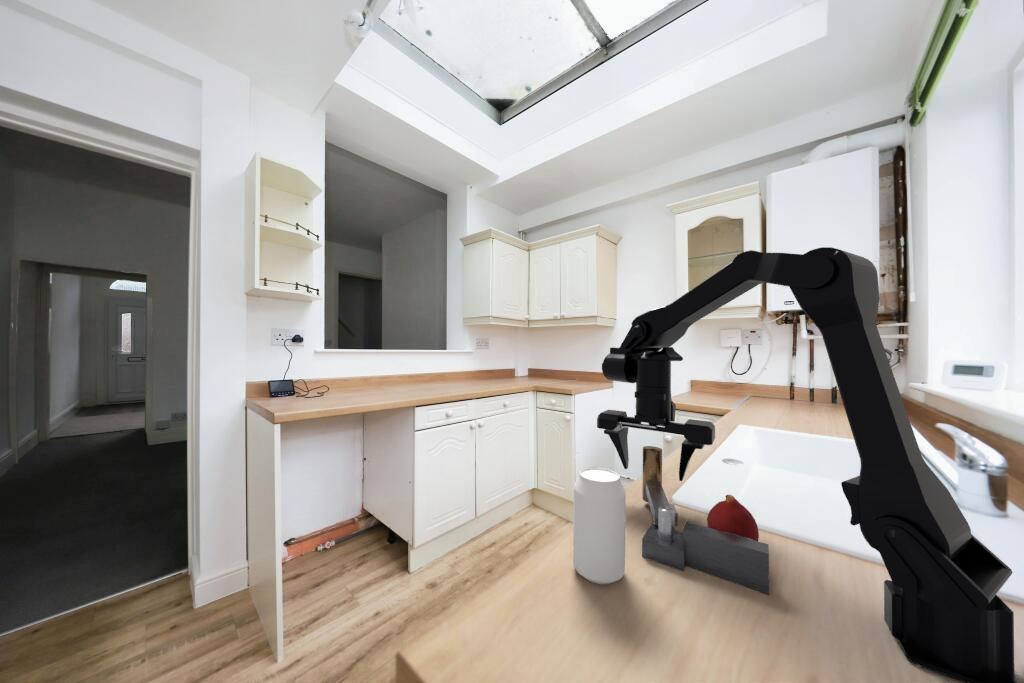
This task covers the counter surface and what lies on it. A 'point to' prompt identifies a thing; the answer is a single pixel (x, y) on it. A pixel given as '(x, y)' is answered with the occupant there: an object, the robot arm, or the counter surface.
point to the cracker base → (707, 551)
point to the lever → (654, 481)
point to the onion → (733, 519)
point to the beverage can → (599, 525)
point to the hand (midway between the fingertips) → (652, 474)
